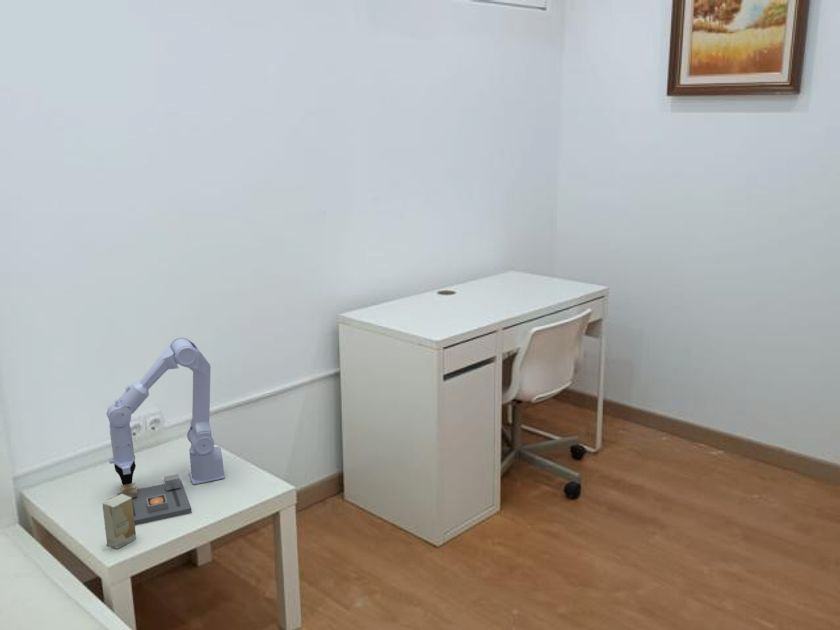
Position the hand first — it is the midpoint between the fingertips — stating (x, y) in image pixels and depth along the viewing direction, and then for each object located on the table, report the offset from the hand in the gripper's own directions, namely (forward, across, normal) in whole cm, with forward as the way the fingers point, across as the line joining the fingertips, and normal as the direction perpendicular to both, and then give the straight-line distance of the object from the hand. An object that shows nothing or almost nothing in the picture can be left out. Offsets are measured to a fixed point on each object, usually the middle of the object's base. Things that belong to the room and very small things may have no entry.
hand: (127, 486), depth 229 cm
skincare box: (+3, +26, -4) cm, 27 cm away
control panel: (+2, +10, +6) cm, 12 cm away
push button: (+1, +14, +6) cm, 16 cm away
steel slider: (0, +5, +12) cm, 13 cm away
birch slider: (0, +5, 0) cm, 5 cm away
